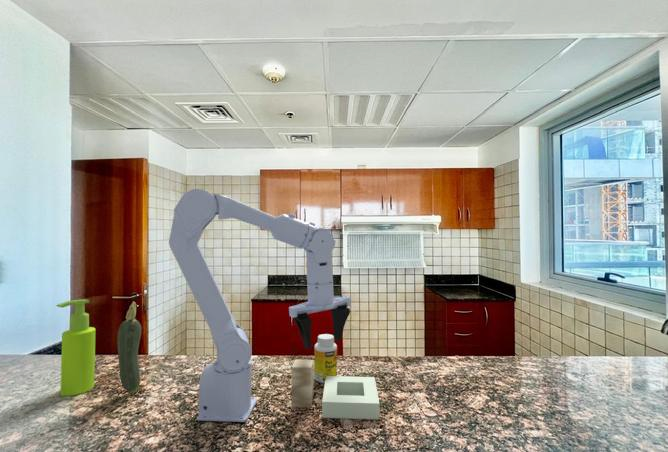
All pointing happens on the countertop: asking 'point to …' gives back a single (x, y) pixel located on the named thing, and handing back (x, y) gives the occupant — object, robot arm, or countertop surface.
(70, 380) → the soap dispenser
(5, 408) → the countertop surface
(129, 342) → the vegetable
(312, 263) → the robot arm
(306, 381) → the peg
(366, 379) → the socket block
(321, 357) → the supplement bottle
